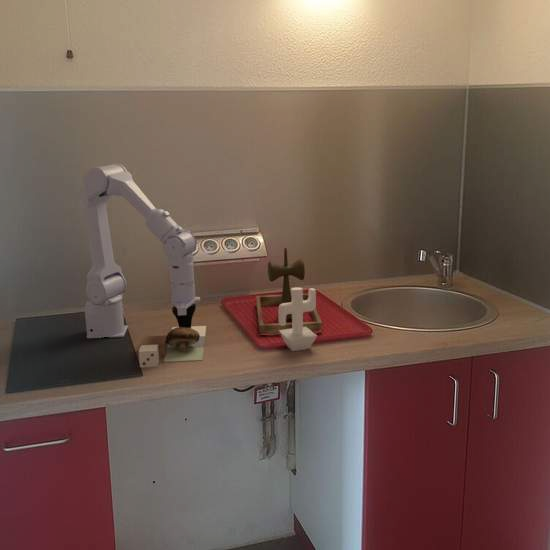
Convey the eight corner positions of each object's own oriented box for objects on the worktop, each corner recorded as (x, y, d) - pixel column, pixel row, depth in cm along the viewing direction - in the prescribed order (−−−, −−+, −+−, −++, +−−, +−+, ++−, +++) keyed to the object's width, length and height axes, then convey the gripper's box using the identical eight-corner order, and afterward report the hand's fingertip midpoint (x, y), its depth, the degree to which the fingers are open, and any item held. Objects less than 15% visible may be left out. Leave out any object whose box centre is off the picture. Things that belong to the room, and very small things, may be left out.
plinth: (140, 356, 164) (139, 345, 163) (143, 347, 170) (142, 336, 169) (165, 355, 165) (164, 344, 164) (167, 346, 170) (166, 335, 170)
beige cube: (142, 361, 162) (139, 367, 158) (140, 345, 161) (138, 351, 157) (159, 360, 162) (157, 367, 158) (158, 344, 161) (156, 350, 157)
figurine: (274, 344, 170) (273, 286, 166) (310, 339, 173) (309, 282, 169) (284, 354, 163) (283, 294, 159) (321, 349, 166) (321, 289, 162)
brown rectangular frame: (259, 335, 176) (259, 325, 176) (256, 305, 201) (256, 296, 201) (321, 333, 177) (321, 322, 176) (310, 302, 202) (310, 293, 201)
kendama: (306, 320, 187) (305, 248, 182) (271, 323, 186) (269, 251, 180) (301, 313, 193) (300, 244, 188) (268, 316, 191) (266, 246, 186)
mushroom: (188, 345, 161) (185, 320, 163) (161, 354, 164) (158, 330, 166) (207, 350, 168) (203, 326, 170) (180, 359, 171) (177, 335, 173)
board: (163, 362, 161) (163, 361, 161) (172, 327, 184) (172, 327, 184) (202, 360, 161) (202, 359, 161) (206, 326, 184) (206, 325, 184)
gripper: (197, 289, 161) (200, 343, 165) (200, 273, 175) (203, 323, 179) (167, 290, 161) (171, 344, 164) (172, 274, 175) (175, 324, 178)
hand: (185, 333), depth 171 cm, fingers closed
